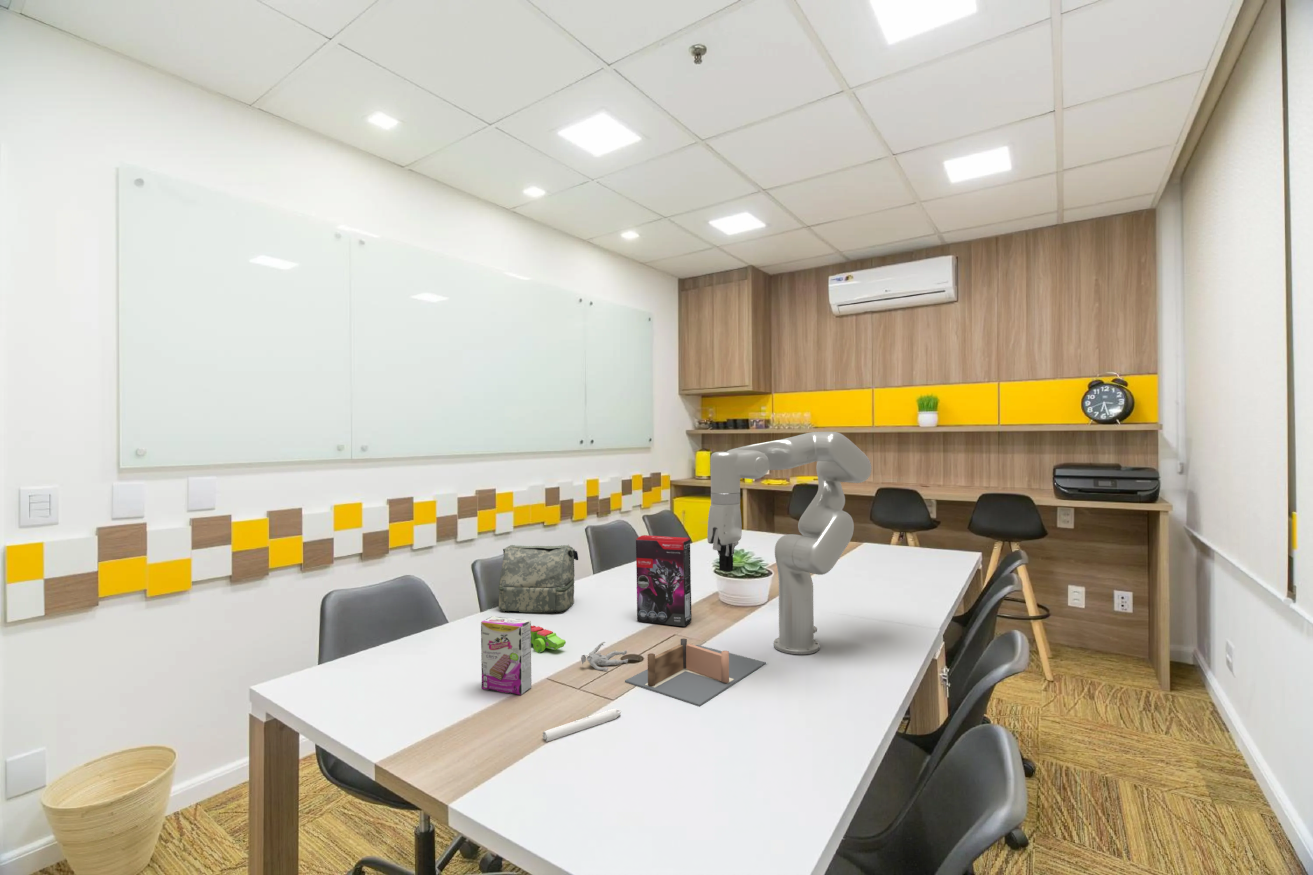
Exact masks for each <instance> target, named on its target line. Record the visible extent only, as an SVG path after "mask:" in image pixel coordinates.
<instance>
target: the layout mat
mask: <svg viewBox="0 0 1313 875" xmlns="http://www.w3.org/2000/svg"><path fill="white" fill-rule="evenodd" d="M695 646H698V647H701V648H705V649H708V650H711V651H714V652H717V653H720V654H721V652H722V651H723V650H719V649H715V648H712V647H707V646H704V645H703V646H702V645H700V644H695ZM765 665H767V662H766V661H763V660H759V659H756V658H751V657H747V656H743V655H739V654H735V653H731V652H729V682H722V681H721V680H718V679H715V678H712V677H709V676H706V675H704V674H701V673H698V672H695V671H692V670H689V669H687V668H686V669H683V670H681V671H679V672H677V673H675V674H673V675H671V676H669V677H668V678H666V679H664V680H662V681H660V682H658V683H656V684H655V686H648V668H646V669H645V670H643V671H641V672H638V673H637V674H634V675H633V676H631V677H629V678H627V679H624V683H627V684H629V685H633V686H636V687H639V688H642V689H646V690H648V691H651V692H655V693H658V694H661V695H663V696H667V697H670V698H673V699H675V700H678V701H681V702H684V703H687V704H690V705H694V706H697V707H701V706H703V705H704V704H706V703H707V702H708V701H710V700H712V699H713V698H715V697H717V696H719V694H721V693H723V692H724V691H726V690H727V689H729V688H730V687H732V686H734V685H735V684H736V683H739V682H740V681H742V680H743V679H745V678H746V677H747V676H750V675H751V674H752V673H754V672H756V671H757V670H758V669H760V668H762V667H764V666H765Z"/></svg>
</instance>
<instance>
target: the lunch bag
mask: <svg viewBox="0 0 1313 875" xmlns="http://www.w3.org/2000/svg"><path fill="white" fill-rule="evenodd" d="M502 550H503V559H502V564H501V571H500V578H499V581H498V610H500V611H502V612H505V611H519V612H518V613H545V612H556V613H561V612H563V611H566V610H568V609H569V608H570V607H571V606H573V604H574V602H575V598H574V597H575V561H579V555H578V551H577V550H576V549H575V548H573V547H572V546H571V545H569V544H566V545H565V544H564V545H515V544H514V545H513V544H510V545H508V546H506V547H505V548H502Z"/></svg>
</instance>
